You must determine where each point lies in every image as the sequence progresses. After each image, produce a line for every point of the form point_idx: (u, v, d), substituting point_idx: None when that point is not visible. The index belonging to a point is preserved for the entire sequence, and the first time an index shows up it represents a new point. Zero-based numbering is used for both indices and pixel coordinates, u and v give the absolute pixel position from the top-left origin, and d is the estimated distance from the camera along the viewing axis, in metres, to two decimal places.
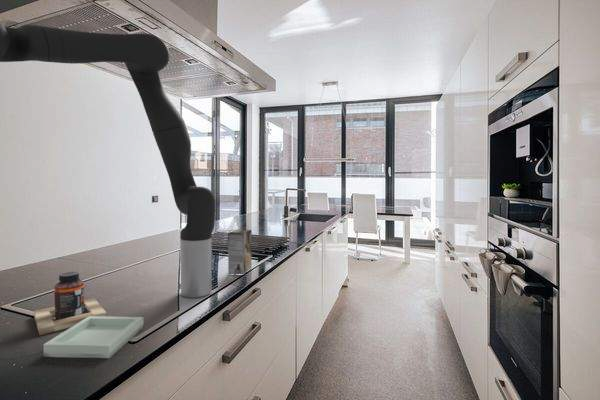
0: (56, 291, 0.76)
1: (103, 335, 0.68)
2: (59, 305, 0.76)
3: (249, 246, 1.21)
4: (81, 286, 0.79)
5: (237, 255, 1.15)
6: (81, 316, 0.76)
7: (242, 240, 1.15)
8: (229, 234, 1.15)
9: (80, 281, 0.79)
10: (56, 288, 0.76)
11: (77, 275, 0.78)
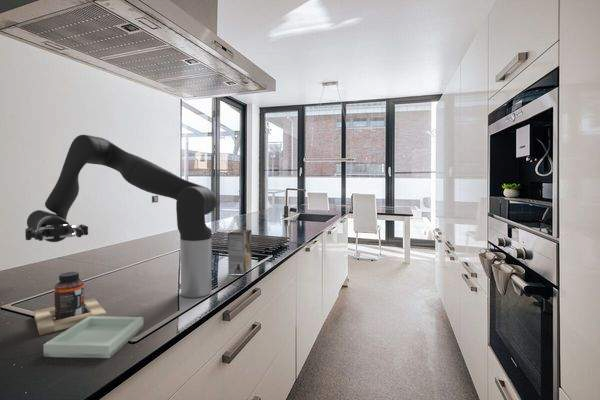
0: (56, 291, 0.76)
1: (103, 335, 0.68)
2: (59, 305, 0.76)
3: (249, 246, 1.21)
4: (81, 286, 0.79)
5: (237, 255, 1.15)
6: (81, 316, 0.76)
7: (242, 240, 1.15)
8: (229, 234, 1.15)
9: (80, 281, 0.79)
10: (56, 288, 0.76)
11: (77, 275, 0.78)
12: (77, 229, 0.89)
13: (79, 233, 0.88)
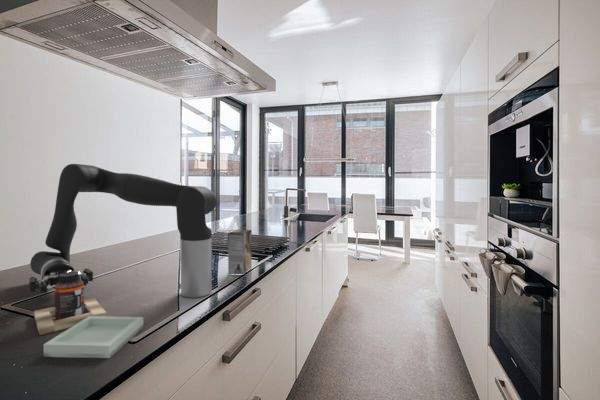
0: (56, 291, 0.76)
1: (103, 335, 0.68)
2: (59, 305, 0.76)
3: (249, 246, 1.21)
4: (81, 286, 0.79)
5: (237, 255, 1.15)
6: (81, 316, 0.76)
7: (242, 240, 1.15)
8: (229, 234, 1.15)
9: (80, 281, 0.79)
10: (56, 288, 0.76)
11: (77, 275, 0.78)
12: (82, 277, 0.87)
13: (84, 282, 0.86)
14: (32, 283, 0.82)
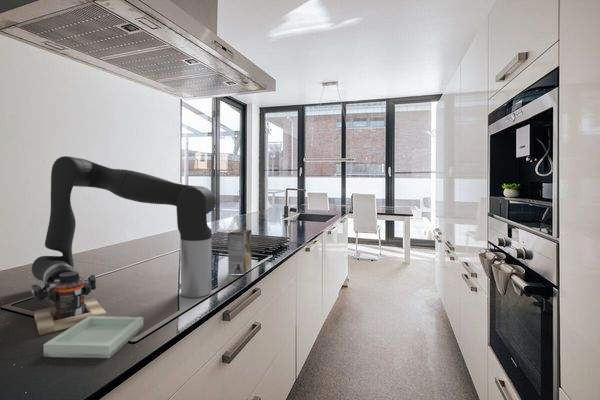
0: (56, 291, 0.76)
1: (103, 335, 0.68)
2: (59, 305, 0.76)
3: (249, 246, 1.21)
4: (81, 286, 0.79)
5: (237, 255, 1.15)
6: (81, 316, 0.76)
7: (242, 240, 1.15)
8: (229, 234, 1.15)
9: (80, 281, 0.79)
10: (56, 288, 0.76)
11: (77, 275, 0.78)
12: (84, 286, 0.79)
13: (86, 291, 0.79)
14: (41, 291, 0.76)
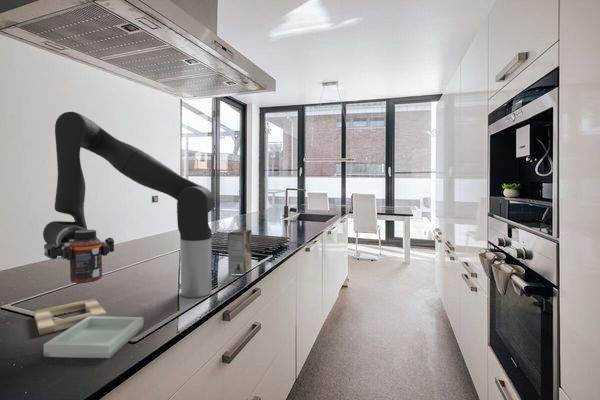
0: (71, 249, 0.68)
1: (103, 335, 0.68)
2: (74, 264, 0.67)
3: (249, 246, 1.21)
4: (99, 245, 0.70)
5: (237, 255, 1.15)
6: (81, 316, 0.76)
7: (242, 240, 1.15)
8: (229, 234, 1.15)
9: (98, 240, 0.71)
10: (71, 245, 0.67)
11: (94, 233, 0.70)
12: (102, 245, 0.71)
13: (104, 251, 0.71)
14: (54, 249, 0.68)
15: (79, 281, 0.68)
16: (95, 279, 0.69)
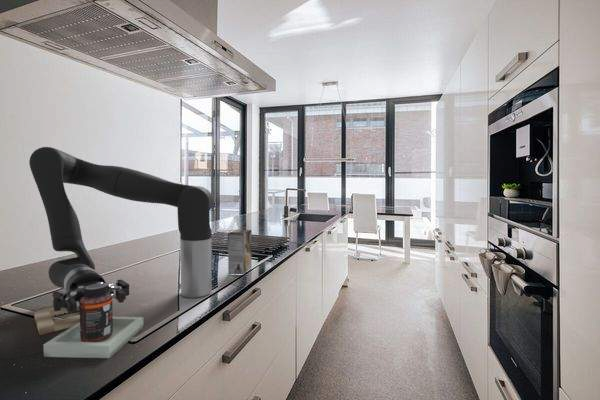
0: (82, 307, 0.64)
1: None
2: (85, 323, 0.64)
3: (249, 246, 1.21)
4: (110, 301, 0.67)
5: (237, 255, 1.15)
6: None
7: (242, 240, 1.15)
8: (229, 234, 1.15)
9: (108, 294, 0.68)
10: (82, 303, 0.64)
11: (105, 288, 0.67)
12: (118, 292, 0.69)
13: (121, 298, 0.69)
14: (57, 300, 0.64)
15: (90, 341, 0.64)
16: (106, 337, 0.66)
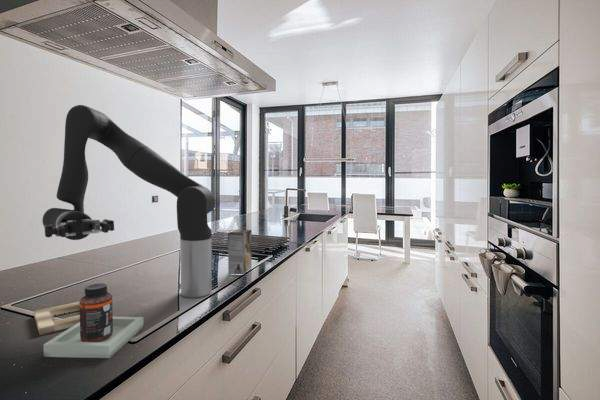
0: (82, 307, 0.64)
1: None
2: (85, 323, 0.64)
3: (249, 246, 1.21)
4: (110, 301, 0.67)
5: (237, 255, 1.15)
6: None
7: (242, 240, 1.15)
8: (229, 234, 1.15)
9: (108, 295, 0.68)
10: (82, 303, 0.64)
11: (105, 288, 0.67)
12: (103, 223, 0.78)
13: (106, 228, 0.77)
14: (48, 227, 0.73)
15: (90, 341, 0.64)
16: (106, 337, 0.66)
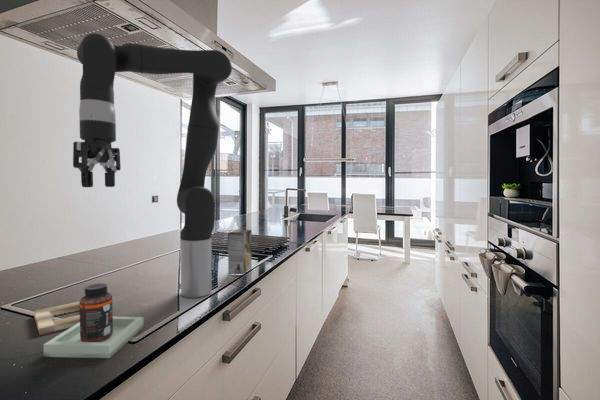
0: (82, 307, 0.64)
1: None
2: (85, 323, 0.64)
3: (249, 246, 1.21)
4: (110, 301, 0.67)
5: (237, 255, 1.15)
6: None
7: (242, 240, 1.15)
8: (229, 234, 1.15)
9: (108, 295, 0.68)
10: (82, 303, 0.64)
11: (105, 288, 0.67)
12: (113, 181, 0.82)
13: (109, 186, 0.82)
14: (84, 168, 0.71)
15: (90, 341, 0.64)
16: (106, 337, 0.66)
